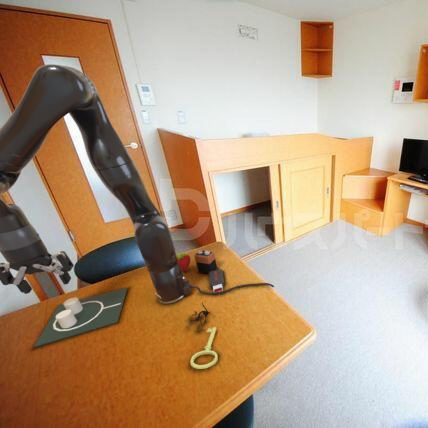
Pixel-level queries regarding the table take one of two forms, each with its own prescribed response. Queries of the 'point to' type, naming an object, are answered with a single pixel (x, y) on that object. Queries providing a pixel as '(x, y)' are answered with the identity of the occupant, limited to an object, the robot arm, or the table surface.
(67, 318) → the eye puck
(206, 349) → the key
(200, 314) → the creature
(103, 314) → the chalkboard
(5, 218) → the robot arm
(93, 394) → the table surface
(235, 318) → the table surface
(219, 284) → the usb drive
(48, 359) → the table surface
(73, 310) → the eye puck
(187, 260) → the strawberry
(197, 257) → the battery
